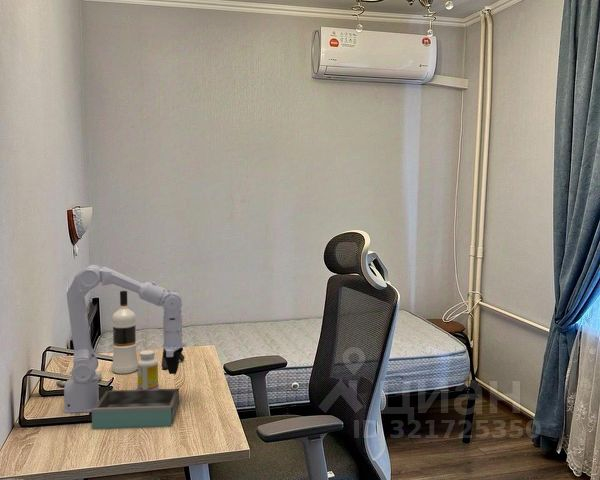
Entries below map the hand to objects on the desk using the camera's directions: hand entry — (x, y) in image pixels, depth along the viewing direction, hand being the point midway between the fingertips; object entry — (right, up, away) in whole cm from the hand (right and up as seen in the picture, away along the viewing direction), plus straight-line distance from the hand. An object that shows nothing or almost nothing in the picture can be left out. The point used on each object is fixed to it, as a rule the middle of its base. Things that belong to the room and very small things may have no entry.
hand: (173, 372), depth 169 cm
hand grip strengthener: (-8, -6, +36) cm, 38 cm away
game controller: (-37, -8, +17) cm, 41 cm away
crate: (-8, -10, -10) cm, 16 cm away
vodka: (-25, -7, +30) cm, 39 cm away
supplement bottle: (-11, -9, +11) cm, 18 cm away
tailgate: (-7, -11, -19) cm, 23 cm away
